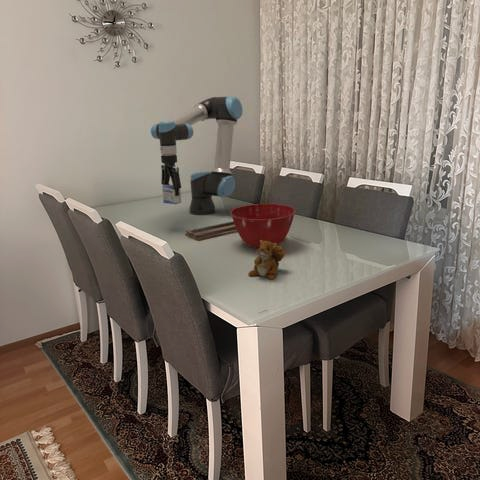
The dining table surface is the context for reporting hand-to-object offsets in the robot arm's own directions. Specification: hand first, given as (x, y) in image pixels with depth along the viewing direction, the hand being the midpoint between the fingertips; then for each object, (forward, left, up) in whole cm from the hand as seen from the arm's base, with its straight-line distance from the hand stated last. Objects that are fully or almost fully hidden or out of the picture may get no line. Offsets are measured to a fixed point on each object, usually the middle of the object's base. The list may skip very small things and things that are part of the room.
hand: (172, 200), depth 223 cm
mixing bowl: (+46, +20, -16) cm, 53 cm away
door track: (+17, +15, -15) cm, 27 cm away
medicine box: (0, 0, -1) cm, 1 cm away
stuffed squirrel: (+75, -1, -16) cm, 76 cm away
